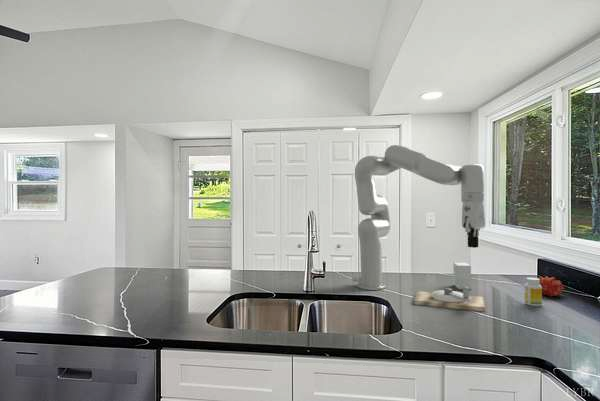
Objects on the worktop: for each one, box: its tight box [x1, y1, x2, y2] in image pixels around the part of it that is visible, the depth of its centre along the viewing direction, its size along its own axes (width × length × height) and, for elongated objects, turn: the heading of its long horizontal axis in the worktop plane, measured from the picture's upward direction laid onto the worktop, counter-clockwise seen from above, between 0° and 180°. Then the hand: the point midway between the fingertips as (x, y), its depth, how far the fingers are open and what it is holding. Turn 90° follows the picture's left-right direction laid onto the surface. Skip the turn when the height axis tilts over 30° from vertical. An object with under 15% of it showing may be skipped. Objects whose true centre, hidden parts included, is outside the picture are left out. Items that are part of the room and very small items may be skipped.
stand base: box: [413, 290, 486, 312], centre depth 134 cm, size 24×14×2 cm, turn 65°
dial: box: [431, 286, 470, 303], centre depth 132 cm, size 16×12×6 cm
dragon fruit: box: [537, 275, 565, 297], centre depth 141 cm, size 8×8×12 cm
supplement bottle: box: [524, 277, 543, 307], centre depth 130 cm, size 5×5×10 cm
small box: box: [452, 262, 472, 290], centre depth 156 cm, size 8×6×10 cm
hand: (473, 247), depth 129 cm, fingers closed
